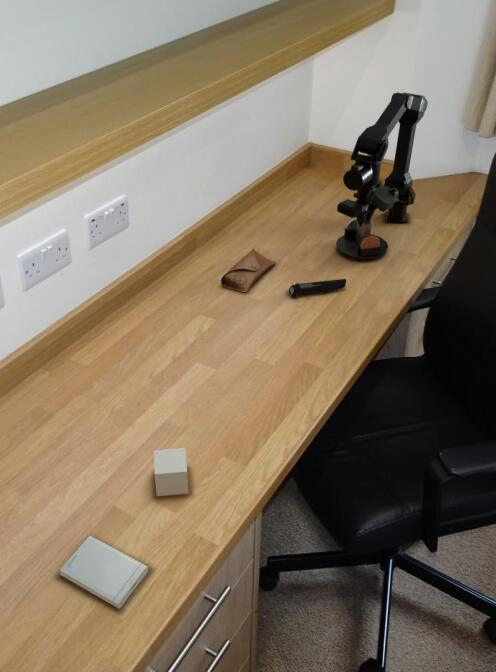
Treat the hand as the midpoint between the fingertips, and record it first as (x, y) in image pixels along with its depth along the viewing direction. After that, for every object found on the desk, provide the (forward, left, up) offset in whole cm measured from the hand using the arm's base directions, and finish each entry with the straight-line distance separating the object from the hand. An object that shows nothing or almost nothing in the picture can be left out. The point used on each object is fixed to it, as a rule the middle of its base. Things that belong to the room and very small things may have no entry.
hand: (363, 227), depth 203 cm
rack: (0, 0, -8) cm, 8 cm away
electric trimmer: (+24, -12, -8) cm, 28 cm away
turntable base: (0, 0, -8) cm, 8 cm away
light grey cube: (+95, -36, -8) cm, 102 cm away
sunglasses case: (+18, -31, -8) cm, 37 cm away
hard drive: (+116, -43, -8) cm, 124 cm away
